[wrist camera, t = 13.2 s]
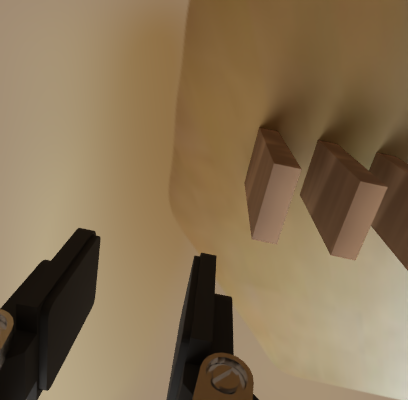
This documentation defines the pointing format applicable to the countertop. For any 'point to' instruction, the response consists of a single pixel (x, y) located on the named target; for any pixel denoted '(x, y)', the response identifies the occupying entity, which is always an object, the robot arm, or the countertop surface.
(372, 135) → the countertop surface
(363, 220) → the domino
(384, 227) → the domino
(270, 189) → the domino
